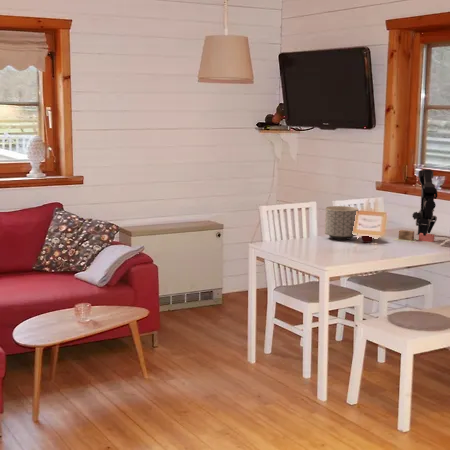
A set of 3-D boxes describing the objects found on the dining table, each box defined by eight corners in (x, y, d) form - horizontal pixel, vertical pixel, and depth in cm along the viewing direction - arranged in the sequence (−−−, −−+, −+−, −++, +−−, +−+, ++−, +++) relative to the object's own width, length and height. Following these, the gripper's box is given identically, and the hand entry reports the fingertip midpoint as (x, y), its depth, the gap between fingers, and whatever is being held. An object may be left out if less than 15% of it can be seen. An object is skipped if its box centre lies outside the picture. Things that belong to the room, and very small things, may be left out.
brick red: (418, 242, 437) (418, 233, 436) (420, 241, 441) (421, 232, 440) (432, 244, 433) (432, 235, 432) (434, 242, 436) (434, 234, 436)
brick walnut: (398, 239, 440) (398, 230, 439) (400, 238, 443) (400, 229, 442) (411, 240, 436) (412, 232, 435) (413, 239, 439) (414, 231, 438)
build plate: (399, 238, 448) (399, 236, 447) (419, 240, 442) (419, 238, 442) (392, 241, 437) (393, 239, 437) (413, 243, 432) (413, 241, 431)
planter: (331, 242, 433) (332, 211, 430) (319, 236, 452) (320, 206, 449) (362, 241, 438) (363, 210, 435) (349, 235, 456) (350, 205, 453)
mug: (371, 240, 440) (372, 223, 439) (380, 242, 433) (381, 225, 432) (357, 242, 435) (357, 224, 434) (366, 244, 428) (366, 227, 427)
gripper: (418, 204, 445) (417, 230, 448) (409, 208, 429) (408, 235, 432) (437, 206, 440) (436, 232, 443) (429, 210, 424) (427, 237, 427)
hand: (426, 234), depth 436 cm, fingers open, 9 cm apart
